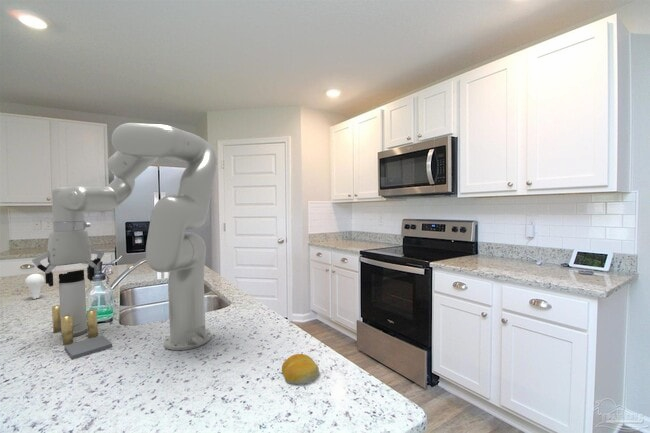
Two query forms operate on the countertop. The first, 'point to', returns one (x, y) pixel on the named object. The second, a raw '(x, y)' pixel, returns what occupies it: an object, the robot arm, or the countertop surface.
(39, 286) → the lightbulb
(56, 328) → the spacer posts
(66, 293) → the travel mug
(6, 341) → the countertop surface
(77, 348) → the mat
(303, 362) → the bread roll
